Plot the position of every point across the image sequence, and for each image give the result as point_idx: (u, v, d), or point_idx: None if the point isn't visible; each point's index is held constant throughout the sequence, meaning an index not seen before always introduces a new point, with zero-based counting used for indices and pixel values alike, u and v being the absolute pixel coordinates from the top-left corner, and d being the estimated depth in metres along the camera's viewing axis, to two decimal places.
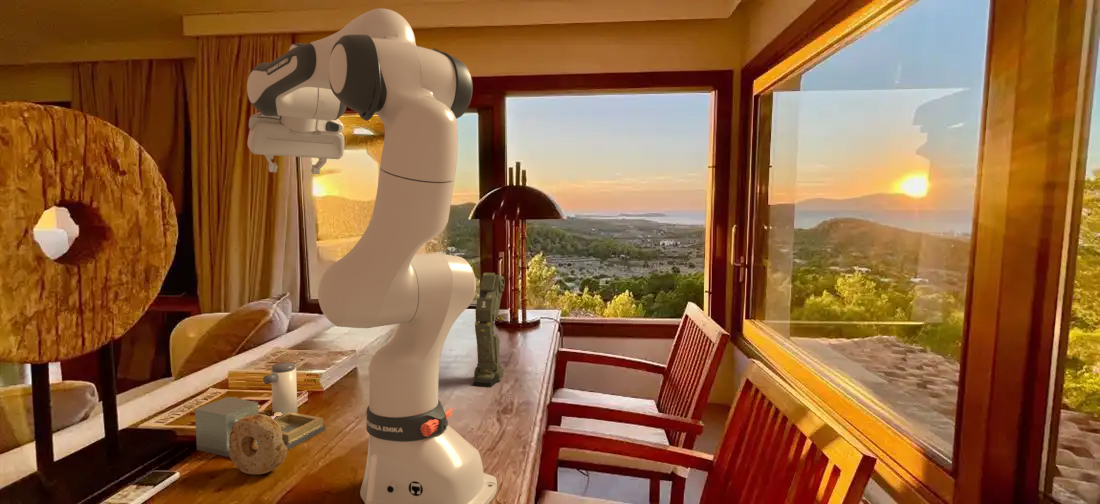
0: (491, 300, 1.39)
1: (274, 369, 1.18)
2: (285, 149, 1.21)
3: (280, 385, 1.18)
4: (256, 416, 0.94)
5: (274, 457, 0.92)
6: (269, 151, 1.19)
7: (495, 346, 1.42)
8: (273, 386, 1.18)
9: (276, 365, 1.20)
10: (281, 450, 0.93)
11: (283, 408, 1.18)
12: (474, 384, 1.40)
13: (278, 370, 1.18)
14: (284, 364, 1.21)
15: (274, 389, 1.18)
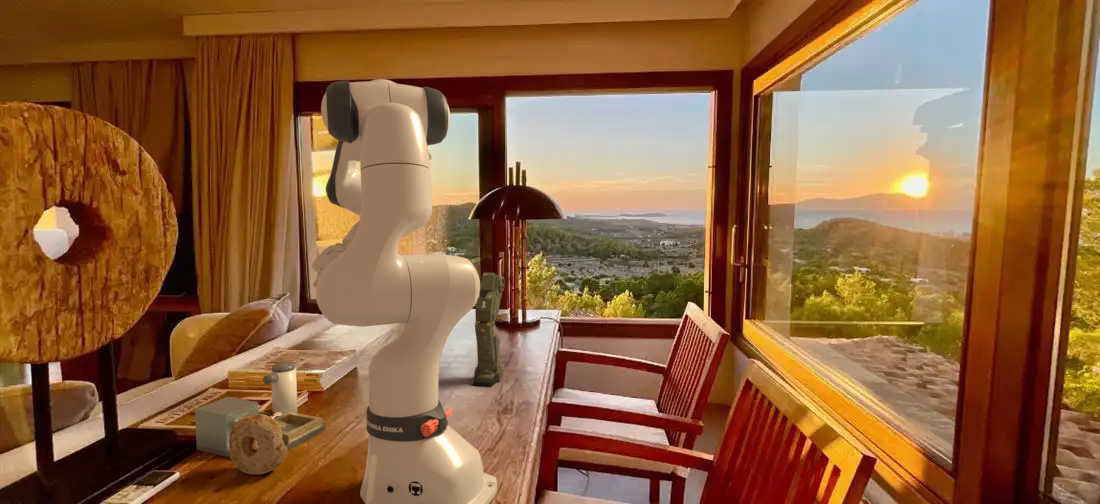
0: (491, 300, 1.39)
1: (274, 369, 1.18)
2: (332, 262, 1.31)
3: (280, 385, 1.18)
4: (256, 416, 0.94)
5: (274, 458, 0.92)
6: (321, 263, 1.32)
7: (495, 346, 1.42)
8: (273, 386, 1.18)
9: (276, 365, 1.20)
10: (281, 450, 0.93)
11: (283, 408, 1.18)
12: (474, 384, 1.40)
13: (278, 370, 1.18)
14: (284, 364, 1.21)
15: (274, 389, 1.18)
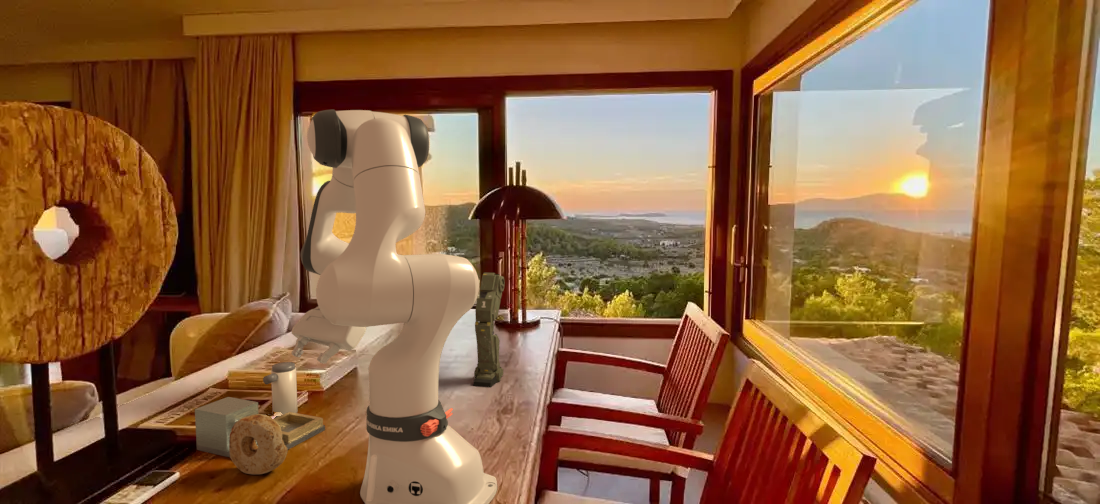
0: (491, 300, 1.39)
1: (274, 369, 1.18)
2: (311, 329, 1.29)
3: (280, 385, 1.18)
4: (256, 416, 0.94)
5: (274, 457, 0.92)
6: (300, 330, 1.30)
7: (495, 346, 1.42)
8: (273, 386, 1.18)
9: (276, 365, 1.20)
10: (281, 450, 0.93)
11: (283, 408, 1.18)
12: (474, 384, 1.40)
13: (278, 370, 1.18)
14: (284, 364, 1.21)
15: (274, 389, 1.18)
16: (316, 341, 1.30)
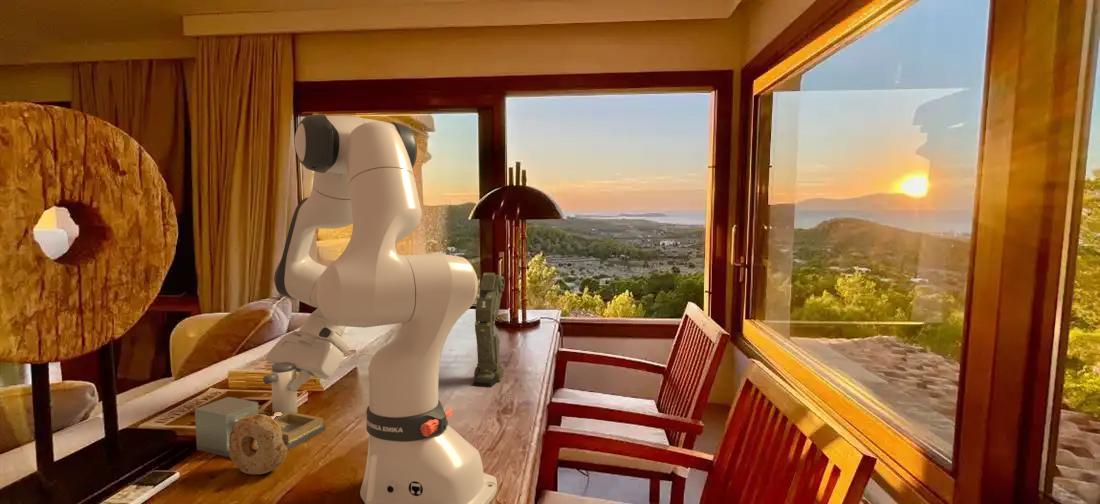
0: (491, 300, 1.39)
1: (274, 369, 1.18)
2: (286, 356, 1.24)
3: (280, 385, 1.18)
4: (256, 416, 0.94)
5: (274, 457, 0.92)
6: (275, 357, 1.25)
7: (495, 346, 1.42)
8: (273, 386, 1.18)
9: (276, 365, 1.20)
10: (281, 450, 0.93)
11: (283, 408, 1.18)
12: (474, 384, 1.40)
13: (278, 370, 1.18)
14: (284, 364, 1.21)
15: (274, 389, 1.18)
16: None
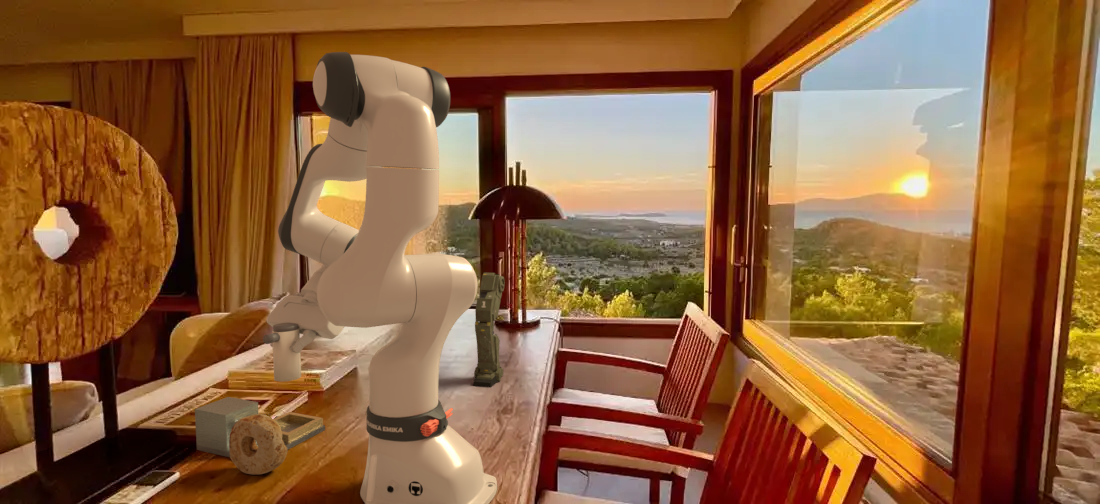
0: (491, 300, 1.39)
1: (275, 328, 1.07)
2: (288, 316, 1.13)
3: (281, 346, 1.07)
4: (256, 416, 0.94)
5: (274, 458, 0.92)
6: (276, 318, 1.14)
7: (495, 346, 1.42)
8: (274, 347, 1.08)
9: (277, 325, 1.09)
10: (281, 450, 0.93)
11: (285, 372, 1.08)
12: (474, 384, 1.40)
13: (280, 329, 1.07)
14: (286, 324, 1.10)
15: (276, 351, 1.07)
16: None
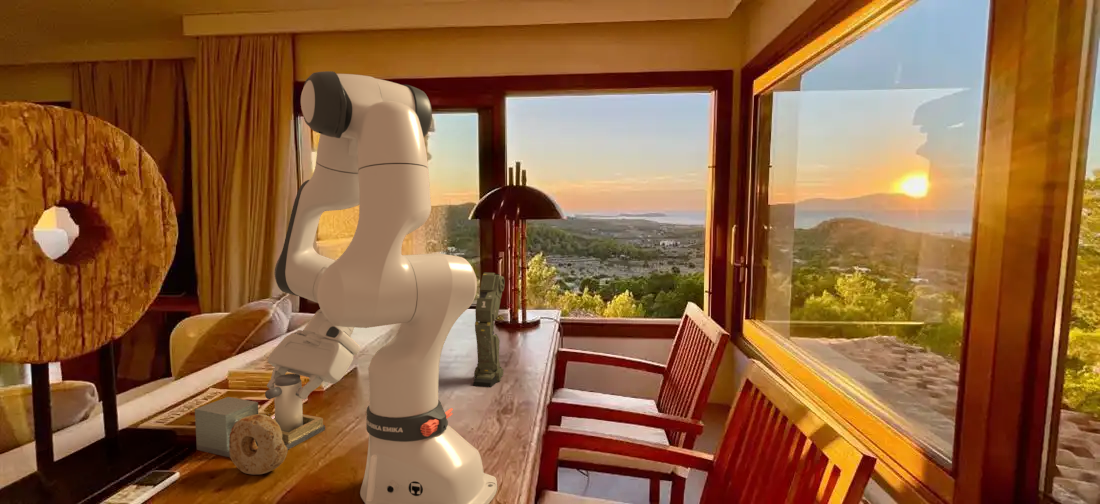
0: (491, 300, 1.39)
1: (277, 382, 1.06)
2: (290, 358, 1.12)
3: (283, 400, 1.06)
4: (256, 416, 0.94)
5: (274, 458, 0.92)
6: (277, 359, 1.13)
7: (495, 346, 1.42)
8: (276, 401, 1.07)
9: (279, 377, 1.08)
10: (281, 450, 0.93)
11: (287, 426, 1.07)
12: (474, 384, 1.40)
13: (282, 383, 1.06)
14: (288, 376, 1.09)
15: (278, 405, 1.07)
16: (296, 371, 1.13)
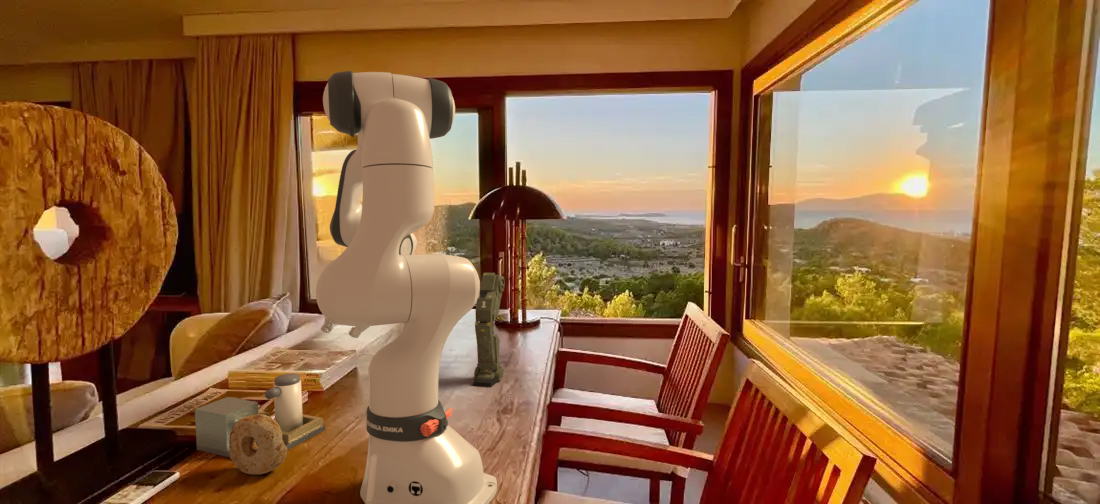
0: (491, 300, 1.39)
1: (277, 382, 1.06)
2: None
3: (283, 400, 1.06)
4: (256, 416, 0.94)
5: (274, 457, 0.92)
6: None
7: (495, 346, 1.42)
8: (276, 400, 1.07)
9: (279, 377, 1.08)
10: (281, 450, 0.93)
11: (287, 425, 1.07)
12: (474, 384, 1.40)
13: (281, 383, 1.06)
14: (288, 376, 1.09)
15: (278, 405, 1.07)
16: None
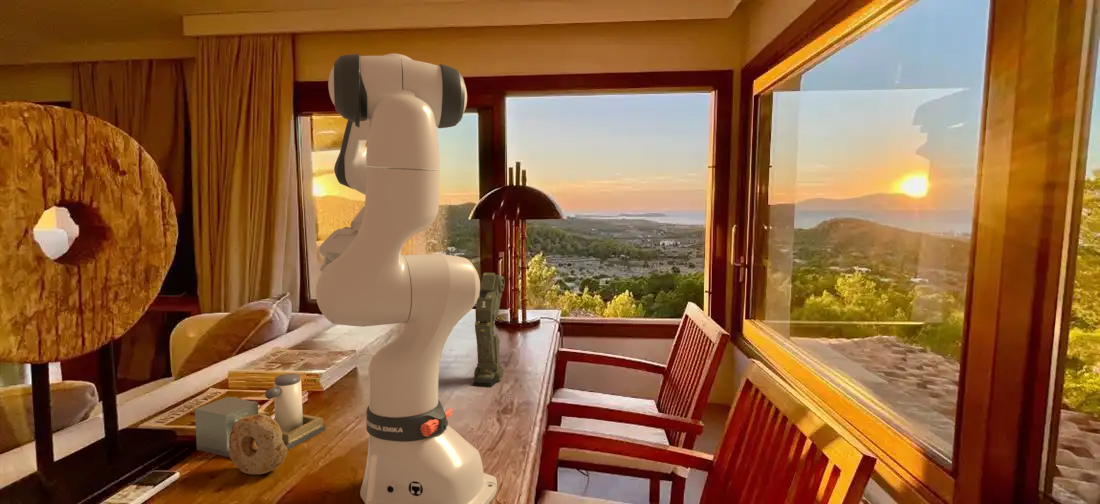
0: (491, 300, 1.39)
1: (277, 382, 1.06)
2: (340, 245, 1.25)
3: (283, 400, 1.06)
4: (256, 416, 0.94)
5: (274, 457, 0.92)
6: (328, 247, 1.26)
7: (495, 346, 1.42)
8: (276, 400, 1.07)
9: (279, 377, 1.08)
10: (281, 450, 0.93)
11: (287, 425, 1.07)
12: (474, 384, 1.40)
13: (281, 383, 1.06)
14: (288, 376, 1.09)
15: (278, 404, 1.07)
16: None
